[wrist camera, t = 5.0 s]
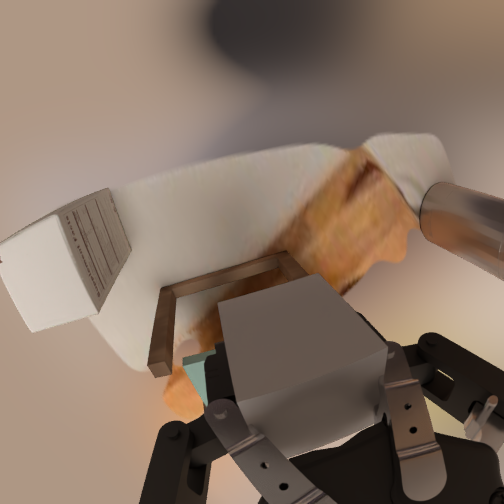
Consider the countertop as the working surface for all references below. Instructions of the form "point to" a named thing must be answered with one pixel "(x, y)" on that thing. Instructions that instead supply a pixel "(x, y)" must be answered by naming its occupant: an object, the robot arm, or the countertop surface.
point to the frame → (166, 305)
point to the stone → (302, 363)
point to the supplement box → (65, 262)
